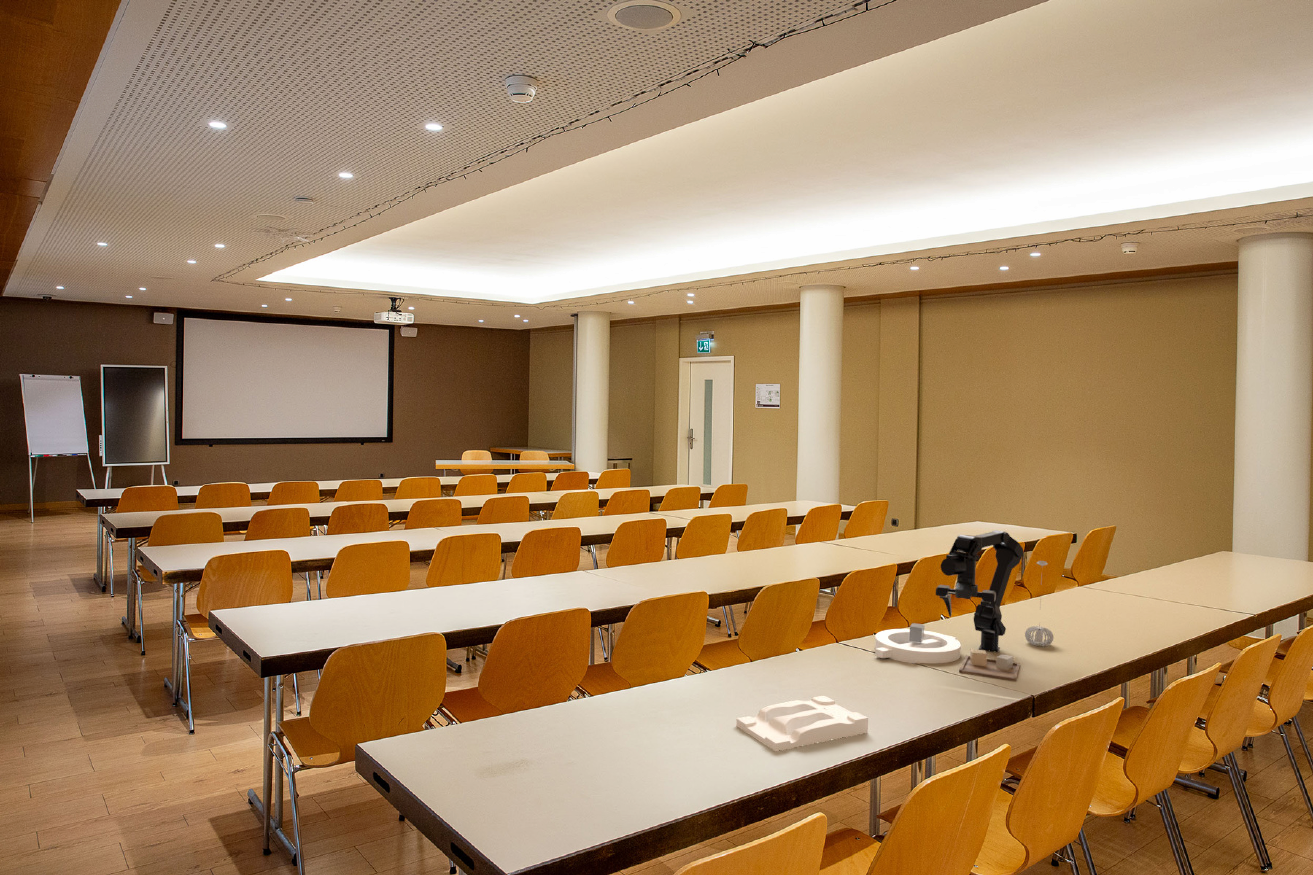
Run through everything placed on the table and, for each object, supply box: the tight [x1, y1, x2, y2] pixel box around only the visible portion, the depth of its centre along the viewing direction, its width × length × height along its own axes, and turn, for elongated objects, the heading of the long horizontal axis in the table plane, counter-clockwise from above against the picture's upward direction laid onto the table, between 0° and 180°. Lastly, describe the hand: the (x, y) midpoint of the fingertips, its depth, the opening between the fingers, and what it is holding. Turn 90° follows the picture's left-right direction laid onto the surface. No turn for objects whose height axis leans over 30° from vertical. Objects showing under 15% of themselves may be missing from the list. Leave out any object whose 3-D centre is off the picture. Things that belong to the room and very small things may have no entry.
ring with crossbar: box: [874, 628, 962, 664], centre depth 288 cm, size 28×28×5 cm
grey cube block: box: [909, 622, 925, 642], centre depth 288 cm, size 5×4×5 cm
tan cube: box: [969, 648, 988, 666], centre depth 274 cm, size 4×4×4 cm
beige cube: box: [995, 653, 1014, 670], centre depth 271 cm, size 4×4×4 cm
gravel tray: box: [958, 655, 1021, 682], centre depth 269 cm, size 18×17×1 cm
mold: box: [736, 695, 869, 752], centre depth 217 cm, size 18×29×5 cm, turn 117°
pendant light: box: [1024, 560, 1054, 647], centre depth 300 cm, size 9×9×30 cm
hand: (964, 618), depth 283 cm, fingers open, 9 cm apart
